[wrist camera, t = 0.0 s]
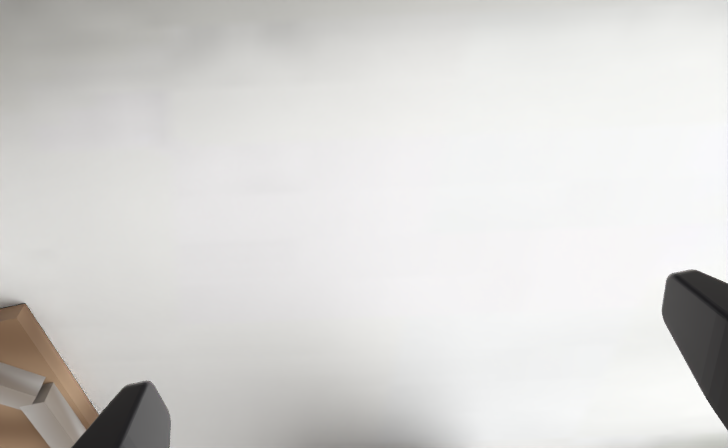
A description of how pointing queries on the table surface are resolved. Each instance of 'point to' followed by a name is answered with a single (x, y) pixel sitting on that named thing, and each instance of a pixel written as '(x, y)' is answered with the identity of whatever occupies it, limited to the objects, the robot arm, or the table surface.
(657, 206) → the table surface
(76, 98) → the table surface
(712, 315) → the robot arm
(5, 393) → the ring board
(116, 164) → the table surface
